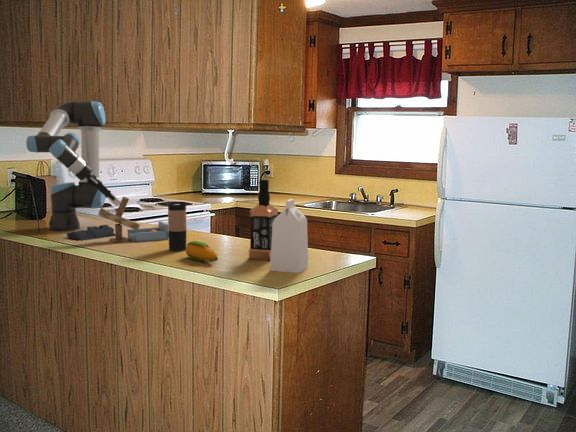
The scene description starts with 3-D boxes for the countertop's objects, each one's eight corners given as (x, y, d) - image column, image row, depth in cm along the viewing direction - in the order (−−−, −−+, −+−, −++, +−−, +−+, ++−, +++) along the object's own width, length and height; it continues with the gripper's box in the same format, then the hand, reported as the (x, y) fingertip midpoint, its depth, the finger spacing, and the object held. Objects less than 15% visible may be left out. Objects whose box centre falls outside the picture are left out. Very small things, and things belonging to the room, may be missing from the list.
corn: (196, 237, 254) (224, 244, 239) (197, 255, 255) (225, 263, 240) (180, 240, 249) (208, 247, 234) (181, 258, 250) (209, 267, 235)
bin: (134, 242, 281) (133, 227, 280) (127, 237, 292) (127, 223, 291) (168, 239, 289) (168, 224, 288) (160, 235, 299) (160, 221, 298)
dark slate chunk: (62, 238, 292) (61, 228, 291) (102, 232, 309) (102, 223, 308) (80, 242, 282) (79, 232, 282) (120, 236, 299) (120, 226, 298)
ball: (148, 233, 293) (154, 229, 294) (152, 239, 292) (158, 235, 293) (148, 230, 289) (154, 227, 291) (152, 236, 289) (158, 233, 290)
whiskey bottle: (271, 261, 245) (272, 180, 240) (248, 259, 248) (248, 180, 243) (278, 255, 255) (279, 178, 250) (256, 254, 258) (256, 178, 253)
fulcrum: (113, 242, 279) (112, 226, 278) (109, 240, 285) (109, 224, 284) (128, 241, 283) (128, 225, 282) (124, 239, 289) (124, 223, 288)
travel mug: (166, 248, 267) (166, 203, 264) (184, 247, 270) (183, 202, 267) (170, 252, 260) (170, 205, 257) (188, 250, 263) (188, 204, 260)
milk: (279, 263, 241) (280, 197, 237) (308, 266, 237) (309, 199, 234) (269, 270, 229) (270, 201, 225) (299, 273, 226) (300, 202, 222)
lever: (101, 216, 275) (111, 191, 276) (97, 214, 283) (107, 190, 284) (137, 230, 284) (148, 206, 285) (133, 228, 292) (143, 204, 292)
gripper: (72, 173, 280) (110, 208, 290) (76, 175, 269) (116, 212, 279) (83, 162, 282) (121, 197, 292) (89, 163, 271) (127, 199, 281)
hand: (118, 204), depth 285 cm, fingers closed
